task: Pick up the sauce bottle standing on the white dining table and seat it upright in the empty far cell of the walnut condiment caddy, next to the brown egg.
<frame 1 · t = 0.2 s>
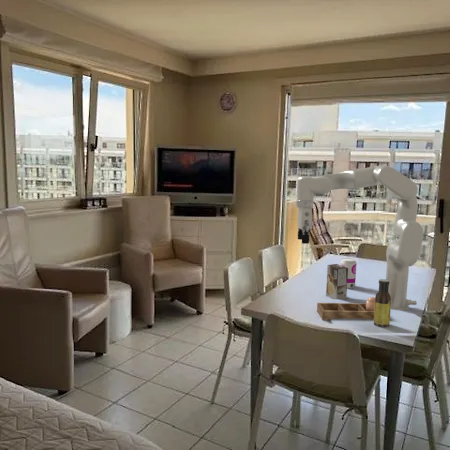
hand: (303, 241, 198), 31 cm above the table, tool pointing down, fingers open, 9 cm apart
caddy: (351, 315, 192), on the table
sauce bottle: (381, 327, 180), on the table
brown egg: (371, 314, 191), point 1 cm above the table, touching caddy
coffee box: (335, 297, 217), on the table
supplement can: (347, 286, 236), on the table
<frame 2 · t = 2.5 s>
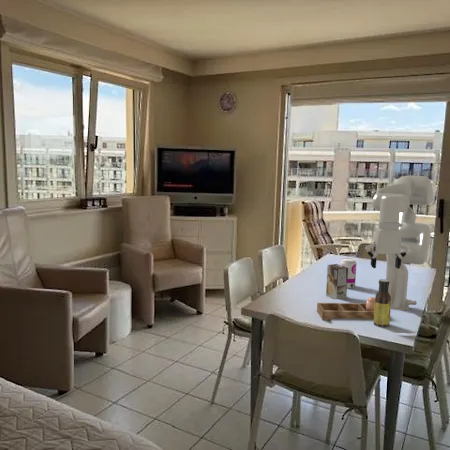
hand: (385, 267, 176), 25 cm above the table, tool pointing down, fingers open, 9 cm apart
nothing on the table moved.
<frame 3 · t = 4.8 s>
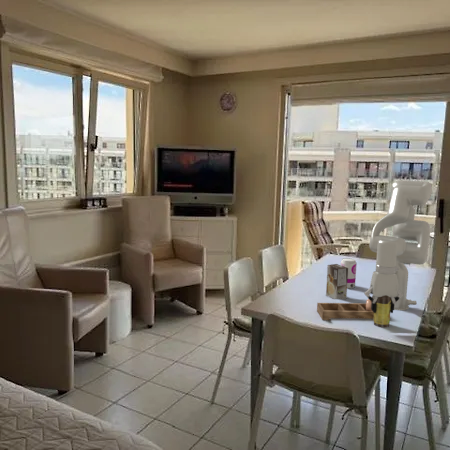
hand: (382, 311, 179), 7 cm above the table, tool pointing down, fingers closed on sauce bottle, 6 cm apart
sauce bottle: (381, 327, 180), on the table, touching gripper
everything else where it was.
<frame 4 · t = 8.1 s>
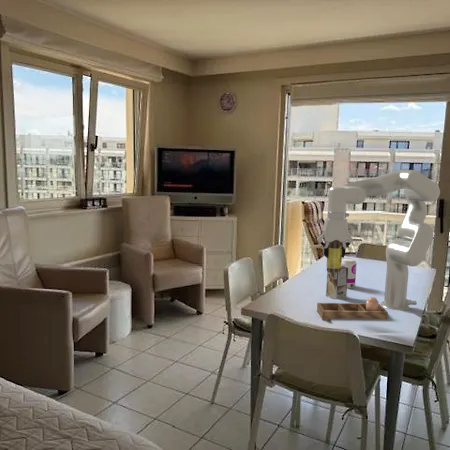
hand: (334, 256, 187), 27 cm above the table, tool pointing down, fingers closed on sauce bottle, 6 cm apart
sauce bottle: (333, 272, 188), point 20 cm above the table, touching gripper
everything else where it was.
when the fingers open (9 cm above the table, at t = 11.7 s): sauce bottle drops 1 cm, resting on caddy.
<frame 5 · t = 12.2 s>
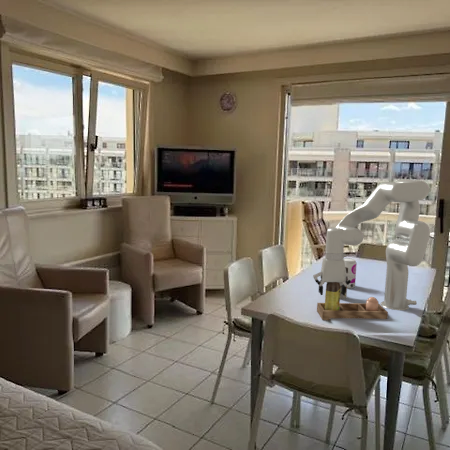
hand: (332, 294, 190), 10 cm above the table, tool pointing down, fingers open, 9 cm apart
sauce bottle: (331, 313, 191), point 1 cm above the table, touching caddy
everything else where it was.
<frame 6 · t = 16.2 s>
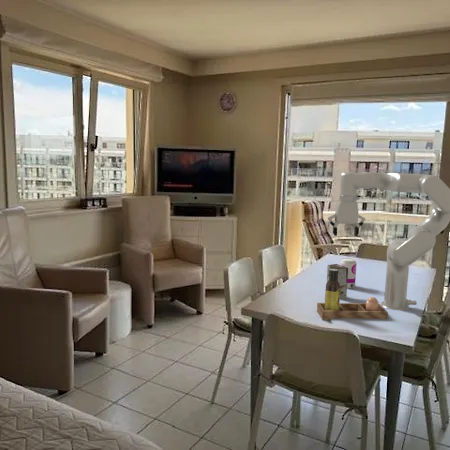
hand: (345, 235, 202), 33 cm above the table, tool pointing down, fingers open, 9 cm apart
nothing on the table moved.
at the end: sauce bottle 0.2 cm from the target spot on the caddy, point 0.8 cm above the caddy's base; sauce bottle tilted 1°; the gripper is holding nothing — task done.
